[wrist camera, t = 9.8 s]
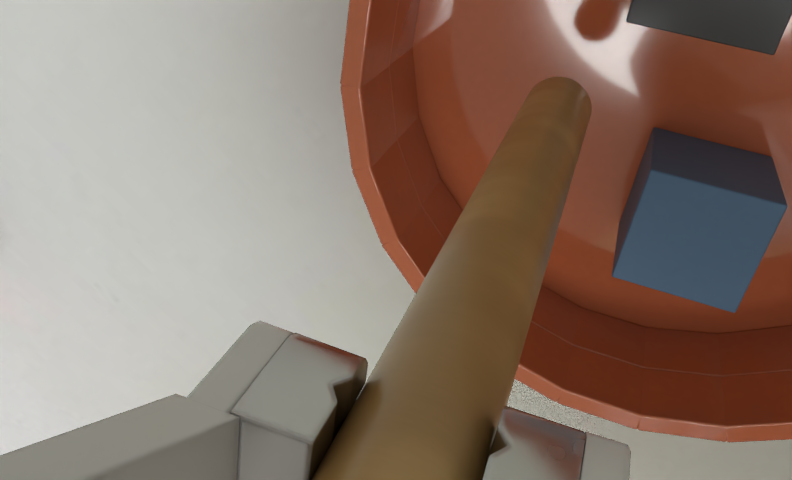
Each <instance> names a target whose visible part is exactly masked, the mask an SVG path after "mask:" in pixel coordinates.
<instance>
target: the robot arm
mask: <svg viewBox="0 0 792 480" xmlns="http://www.w3.org/2000/svg"><path fill="white" fill-rule="evenodd" d="M367 367H368V362H367V360H366V358H363V357H360V356H358V355H355V354H352V353H349V352H347V351H344V350H341V349H339V348H336V347H333V346H330V345H328V344H325V343H322V342H319V341H317V340H314V339H311V338H308V337H306V336H303V335H300V334H297V333H292V332H290V331H287V330H284V329H282V328H279V327H276V326H273V325H271V324H268V323H265V322H262V321H258V322H256V323H254V324H252V325H250V326H249V327H248V328H247V329H246V330H245V332H244V333H243V334H242V335H241V336H240V337H239V338H238V340H237V341H236V342H235V343H234V344H233V345H232V346H231V348H230V349H229V350H228V351H227V352H226V353H225V354H224V355H223V357H222V358H221V359H220V360H219V361H218V362H217V363H216V365H215V366H214V367H213V368H212V369H211V370H210V371H209V373H208V374H207V375H206V376H205V377H204V378H203V379H202V381H201V382H200V383H199V384H198V385H197V386H196V387H195V389H194V390H193V391H192V392H191V393H190V394H189V395H188V397H187V398H186V397H183V396H180V395H178V394H174V395H171V396H168V397H166V398H163V399H160V400H157V401H154V402H151V403H148V404H146V405H143V406H140V407H137V408H134V409H131V410H128V411H126V412H123V413H120V414H117V415H114V416H111V417H109V418H106V419H103V420H100V421H97V422H94V423H91V424H89V425H86V426H83V427H80V428H77V429H74V430H72V431H69V432H66V433H63V434H60V435H57V436H54V437H52V438H49V439H46V440H43V441H40V442H37V443H35V444H32V445H29V446H26V447H23V448H20V449H17V450H15V451H12V452H9V453H6V454H3V455H0V480H311V479H312V478H313V476H314V474H315V472H316V471H317V469H318V467H319V465H320V463H321V462H322V460H323V458H324V456H325V455H326V453H327V451H328V449H329V447H330V446H331V444H332V442H333V440H334V439H335V437H336V435H337V433H338V431H339V430H340V428H341V426H342V424H343V423H344V421H345V419H346V417H347V416H348V414H349V412H350V410H351V408H352V407H353V405H354V403H355V401H356V399H357V397H358V396H359V394H360V392H361V390H362V388H363V386H364V385H365V381H366V374H367ZM630 458H631V451H630V449H629V447H628V445H626V444H623V443H620V442H617V441H614V440H611V439H608V438H604V437H601V436H598V435H595V434H592V433H589V432H585V433H584V432H583V431H580V430H577V429H574V428H571V427H568V426H565V425H562V424H559V423H556V422H553V421H550V420H547V419H544V418H541V417H538V416H535V415H532V414H529V413H526V412H523V411H520V410H517V409H514V408H511V407H508V406H505V405H504V407H503V411H502V414H501V417H500V420H499V423H498V427H497V430H496V433H495V436H494V439H493V443H492V446H491V449H490V453H489V456H488V459H487V462H486V466H485V471H484V474H483V477H482V480H629V475H630Z"/></svg>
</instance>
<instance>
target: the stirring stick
mask: <svg viewBox="0 0 792 480" xmlns="http://www.w3.org/2000/svg"><path fill="white" fill-rule="evenodd" d="M591 109H592V108H591V100H590V98H589V95H588V93H587V92H586V90H585V89H584V88H583V87H582V86H581V85H580V84H579V83H578V82H576V81H574V80H572V79H570V78H566V77H550V78H547V79H544V80H542V81H540V82H539V83H538V84H536V85H535V86H534V87H533V88H532V89H531V91H530V92H529V94H528V96H527V98H526V99H525V101H524V103H523V105H522V107H521V108H520V110H519V112H518V114H517V115H516V117H515V119H514V121H513V123H512V124H511V126H510V128H509V130H508V131H507V133H506V135H505V137H504V138H503V140H502V142H501V144H500V146H499V147H498V149H497V151H496V153H495V154H494V156H493V158H492V160H491V162H490V163H489V165H488V167H487V169H486V170H485V172H484V174H483V176H482V178H481V179H480V181H479V183H478V185H477V186H476V188H475V190H474V192H473V194H472V195H471V197H470V199H469V201H468V202H467V204H466V206H465V208H464V210H463V211H462V213H461V215H460V217H459V218H458V220H457V222H456V224H455V225H454V227H453V229H452V231H451V233H450V234H449V236H448V238H447V240H446V241H445V243H444V245H443V247H442V249H441V250H440V252H439V254H438V256H437V257H436V259H435V261H434V263H433V265H432V266H431V268H430V270H429V272H428V273H427V275H426V277H425V279H424V281H423V282H422V284H421V286H420V288H419V289H418V291H417V293H416V295H415V297H414V298H413V300H412V302H411V304H410V305H409V307H408V309H407V311H406V312H405V314H404V316H403V318H402V320H401V321H400V323H399V325H398V327H397V328H396V330H395V332H394V334H393V336H392V337H391V339H390V341H389V343H388V344H387V346H386V348H385V350H384V352H383V353H382V355H381V357H380V359H379V360H378V362H377V364H376V366H375V368H374V369H373V371H372V373H371V375H370V376H369V378H368V380H367V382H366V384H365V385H364V387H363V389H362V391H361V392H360V394H359V396H358V398H357V399H356V401H355V403H354V405H353V407H352V408H351V410H350V412H349V414H348V416H347V417H346V419H345V421H344V423H343V424H342V426H341V428H340V430H339V431H338V433H337V435H336V437H335V439H334V440H333V442H332V444H331V446H330V447H329V449H328V451H327V453H326V455H325V456H324V458H323V460H322V462H321V463H320V465H319V467H318V469H317V471H316V472H315V474H314V476H313V478H312V479H311V480H482V477H483V474H484V471H485V466H486V462H487V459H488V456H489V453H490V449H491V446H492V443H493V439H494V436H495V433H496V430H497V427H498V423H499V420H500V417H501V414H502V411H503V407H504V405H505V406H507V402H508V399H509V396H510V392H511V389H512V385H513V382H514V378H515V375H516V371H517V368H518V365H519V361H520V358H521V354H522V351H523V347H524V344H525V340H526V337H527V333H528V330H529V327H530V323H531V320H532V316H533V313H534V309H535V306H536V302H537V299H538V296H539V292H540V289H541V285H542V282H543V278H544V275H545V271H546V268H547V264H548V261H549V258H550V254H551V251H552V247H553V244H554V240H555V237H556V233H557V230H558V226H559V223H560V220H561V216H562V213H563V209H564V206H565V202H566V199H567V195H568V192H569V189H570V185H571V182H572V178H573V175H574V171H575V168H576V164H577V161H578V157H579V154H580V151H581V147H582V144H583V140H584V137H585V133H586V130H587V126H588V123H589V120H590V116H591Z"/></svg>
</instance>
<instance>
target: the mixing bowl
mask: <svg viewBox="0 0 792 480" xmlns="http://www.w3.org/2000/svg"><path fill="white" fill-rule="evenodd" d="M630 3H631V0H350V2H349V11H348V20H347V29H346V38H345V47H344V56H343V64H342V73H341V82H340V83H341V94H342V101H343V108H344V115H345V123H346V130H347V137H348V145H349V152H350V159H351V166H352V169H353V174H354V177H355V179H356V182H357V184H358V187H359V189H360V192H361V194H362V197H363V199H364V202H365V204H366V207H367V209H368V212H369V214H370V217H371V219H372V222H373V224H374V227H375V229H376V232H377V234H378V237H379V239H380V242H381V244H383V245H382V246H383V248H384V249H385V251H386V252H387V253H388V255H389V256H390V258H391V259H392V260H393V262H394V263H395V265H396V266H397V268H398V269H399V270H400V272H401V273H402V275H403V276H404V277H405V279H406V280H407V282H408V283H409V284H410V286H411V287H412V289H413V290H414V292H415V293H417V291H418V289H419V288H420V286H421V284H422V282H423V281H424V279H425V277H426V275H427V273H428V272H429V270H430V268H431V266H432V265H433V263H434V261H435V259H436V257H437V256H438V254H439V252H440V250H441V249H442V247H443V245H444V243H445V241H446V240H447V238H448V236H449V234H450V233H451V231H452V229H453V227H454V225H455V224H456V222H457V220H458V218H459V217H460V215H461V213H462V211H463V210H464V208H465V206H466V204H467V202H468V201H469V199H470V197H471V195H472V194H473V192H474V190H475V188H476V186H477V185H478V183H479V181H480V179H481V178H482V176H483V174H484V172H485V170H486V169H487V167H488V165H489V163H490V162H491V160H492V158H493V156H494V154H495V153H496V151H497V149H498V147H499V146H500V144H501V142H502V140H503V138H504V137H505V135H506V133H507V131H508V130H509V128H510V126H511V124H512V123H513V121H514V119H515V117H516V115H517V114H518V112H519V110H520V108H521V107H522V105H523V103H524V101H525V99H526V98H527V96H528V94H529V92H530V91H531V89H532V88H533V87H534V86H535V85H536V84H538V83H539V82H540V81H542V80H544V79H547V78H550V77H566V78H570V79H572V80H574V81H576V82H578V83H579V84H580V85H581V86H582V87H583V88H584V89H585V90H586V92H587V93H588V95H589V98H590V100H591V108H592V109H591V116H590V120H589V123H588V126H587V130H586V133H585V137H584V140H583V144H582V147H581V151H580V154H579V157H578V161H577V164H576V168H575V171H574V175H573V178H572V182H571V185H570V189H569V192H568V195H567V199H566V202H565V206H564V209H563V213H562V216H561V220H560V223H559V226H558V230H557V233H556V237H555V240H554V244H553V247H552V251H551V254H550V258H549V261H548V264H547V268H546V271H545V275H544V278H543V282H542V285H541V289H540V292H539V296H538V299H537V302H536V306H535V309H534V313H533V316H532V320H531V323H530V327H529V330H528V333H527V337H526V340H525V344H524V347H523V351H522V354H521V358H520V361H519V365H518V368H517V371H516V375H515V378H514V379H516V380H518V381H520V382H521V383H523V384H525V385H527V386H528V387H530V388H532V389H534V390H535V391H537V392H539V393H540V394H542V395H544V396H546V397H547V398H549V399H551V400H553V401H554V402H556V401H557V402H558V403H559V404H562V405H565V406H568V407H571V408H574V409H577V410H580V411H583V412H585V413H588V414H591V415H594V416H597V417H600V418H603V419H606V420H609V421H612V422H615V423H618V424H621V425H624V426H627V427H630V428H633V429H637V428H638V430H641V431H649V432H656V433H663V434H671V435H678V436H685V437H693V438H700V439H707V440H715V441H722V442H726V441H727V442H746V441H766V440H786V439H792V15H791V17H790V19H789V22H788V24H787V27H786V29H785V31H784V34H783V36H782V38H781V41H780V43H779V45H778V48H777V50H776V52H775V54H774V55H770V54H765V53H761V52H756V51H752V50H747V49H743V48H739V47H734V46H730V45H725V44H721V43H716V42H712V41H708V40H703V39H699V38H694V37H690V36H685V35H681V34H677V33H672V32H668V31H663V30H659V29H655V28H650V27H646V26H641V25H637V24H632V23H628V22H626V18H627V14H628V11H629V7H630ZM654 127H656V128H660V129H664V130H668V131H672V132H676V133H680V134H684V135H688V136H692V137H695V138H699V139H703V140H707V141H711V142H715V143H719V144H723V145H727V146H731V147H735V148H739V149H743V150H747V151H751V152H755V153H759V154H763V155H767V156H771V157H772V158H773V161H774V164H775V167H776V171H777V174H778V177H779V180H780V183H781V186H782V190H783V193H784V196H785V199H786V202H787V209H786V211H785V213H784V215H783V217H782V219H781V221H780V223H779V225H778V227H777V229H776V231H775V233H774V235H773V237H772V239H771V241H770V243H769V246H768V248H767V250H766V252H765V254H764V256H763V258H762V260H761V262H760V264H759V266H758V268H757V270H756V272H755V274H754V276H753V278H752V280H751V282H750V284H749V286H748V288H747V290H746V292H745V294H744V297H743V299H742V301H741V303H740V305H739V307H738V309H737V311H736V312H735V313H732V312H729V311H726V310H722V309H719V308H716V307H712V306H709V305H706V304H702V303H699V302H695V301H692V300H689V299H685V298H682V297H679V296H675V295H672V294H669V293H665V292H662V291H658V290H655V289H652V288H648V287H645V286H642V285H638V284H635V283H631V282H628V281H625V280H621V279H618V278H615V277H612V269H613V262H614V255H615V248H616V241H617V234H618V227H619V222H620V219H621V216H622V214H623V211H624V208H625V205H626V202H627V200H628V197H629V194H630V191H631V188H632V186H633V183H634V180H635V177H636V174H637V172H638V169H639V166H640V163H641V160H642V158H643V155H644V152H645V149H646V146H647V144H648V141H649V138H650V135H651V132H652V130H653V128H654Z"/></svg>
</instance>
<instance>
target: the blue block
mask: <svg viewBox="0 0 792 480" xmlns="http://www.w3.org/2000/svg"><path fill="white" fill-rule="evenodd" d="M786 209H787V202H786V199H785V196H784V193H783V190H782V186H781V183H780V180H779V177H778V174H777V171H776V167H775V164H774V161H773V158H772V157H771V156H767V155H763V154H759V153H755V152H751V151H747V150H743V149H739V148H735V147H731V146H727V145H723V144H719V143H715V142H711V141H707V140H703V139H699V138H695V137H692V136H688V135H684V134H680V133H676V132H672V131H668V130H664V129H660V128H656V127H654V128H653V130H652V132H651V135H650V138H649V141H648V144H647V146H646V149H645V152H644V155H643V158H642V160H641V163H640V166H639V169H638V172H637V174H636V177H635V180H634V183H633V186H632V188H631V191H630V194H629V197H628V200H627V202H626V205H625V208H624V211H623V214H622V216H621V219H620V222H619V227H618V234H617V241H616V248H615V255H614V262H613V269H612V277H615V278H618V279H621V280H625V281H628V282H631V283H635V284H638V285H642V286H645V287H648V288H652V289H655V290H658V291H662V292H665V293H669V294H672V295H675V296H679V297H682V298H685V299H689V300H692V301H695V302H699V303H702V304H706V305H709V306H712V307H716V308H719V309H722V310H726V311H729V312H732V313H735V312H736V311H737V309H738V307H739V305H740V303H741V301H742V299H743V297H744V294H745V292H746V290H747V288H748V286H749V284H750V282H751V280H752V278H753V276H754V274H755V272H756V270H757V268H758V266H759V264H760V262H761V260H762V258H763V256H764V254H765V252H766V250H767V248H768V246H769V243H770V241H771V239H772V237H773V235H774V233H775V231H776V229H777V227H778V225H779V223H780V221H781V219H782V217H783V215H784V213H785V211H786Z"/></svg>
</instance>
